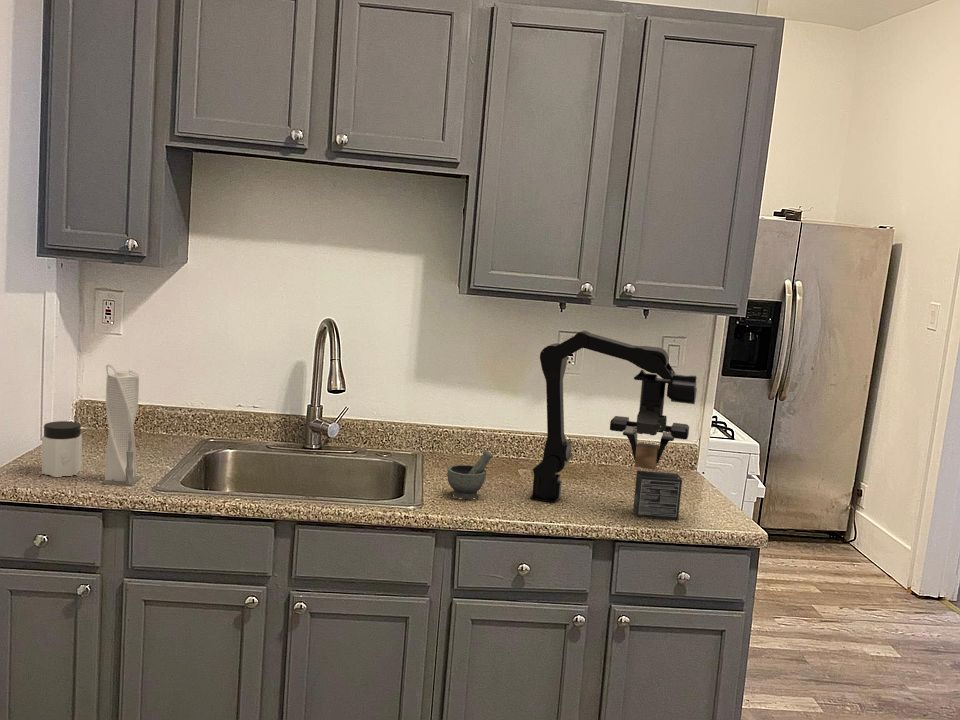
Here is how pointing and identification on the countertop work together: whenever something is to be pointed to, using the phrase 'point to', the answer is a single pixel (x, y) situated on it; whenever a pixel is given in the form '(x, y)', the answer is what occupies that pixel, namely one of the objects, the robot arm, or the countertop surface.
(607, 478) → the countertop surface
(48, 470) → the jar
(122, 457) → the skyscraper
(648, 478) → the small box
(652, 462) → the block
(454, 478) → the mortar and pestle
